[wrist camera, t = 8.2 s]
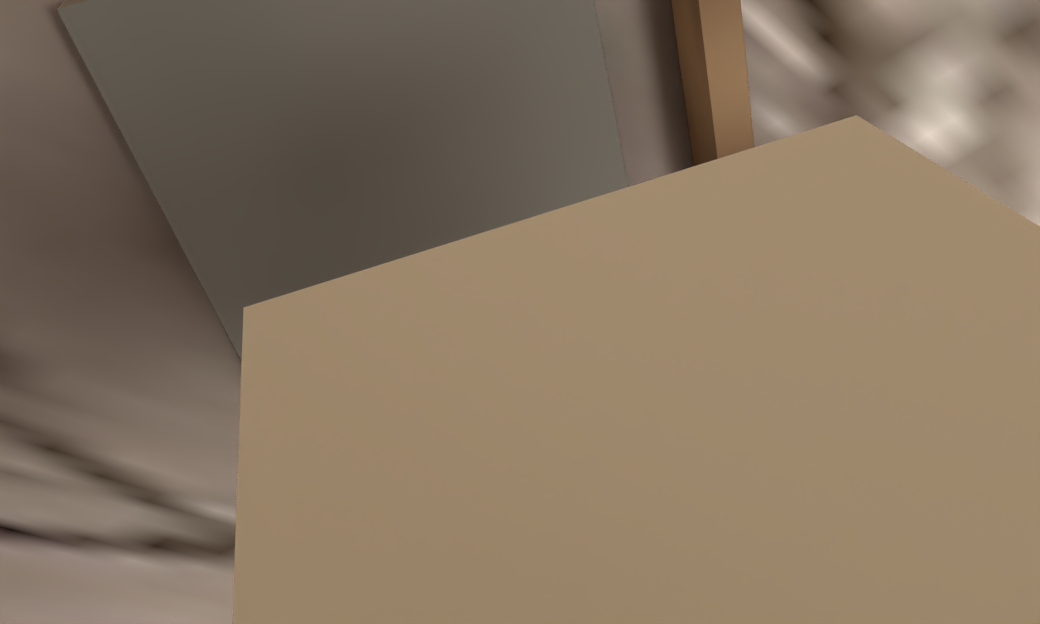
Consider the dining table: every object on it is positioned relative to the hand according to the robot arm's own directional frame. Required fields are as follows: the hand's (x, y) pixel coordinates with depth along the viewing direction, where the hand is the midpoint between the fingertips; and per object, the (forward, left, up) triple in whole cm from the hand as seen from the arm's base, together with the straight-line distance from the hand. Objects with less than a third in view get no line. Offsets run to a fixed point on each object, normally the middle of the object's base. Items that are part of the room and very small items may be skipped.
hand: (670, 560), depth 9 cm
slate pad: (+1, +1, -11) cm, 11 cm away
